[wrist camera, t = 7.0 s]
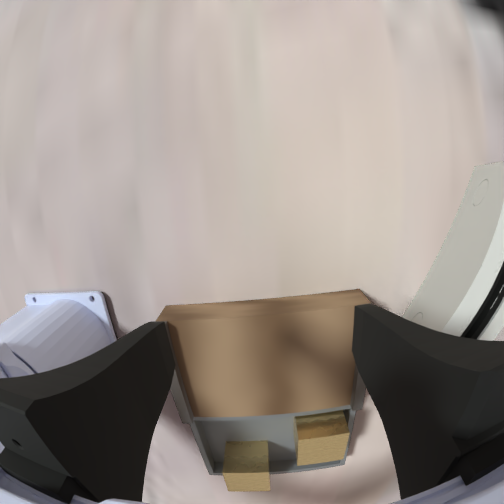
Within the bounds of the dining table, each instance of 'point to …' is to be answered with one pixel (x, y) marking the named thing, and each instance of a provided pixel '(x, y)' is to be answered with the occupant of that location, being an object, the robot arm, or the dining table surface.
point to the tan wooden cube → (320, 437)
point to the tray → (259, 438)
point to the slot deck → (264, 355)
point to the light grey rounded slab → (468, 265)
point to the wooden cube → (246, 466)
